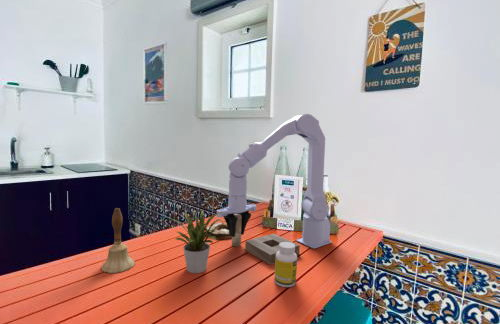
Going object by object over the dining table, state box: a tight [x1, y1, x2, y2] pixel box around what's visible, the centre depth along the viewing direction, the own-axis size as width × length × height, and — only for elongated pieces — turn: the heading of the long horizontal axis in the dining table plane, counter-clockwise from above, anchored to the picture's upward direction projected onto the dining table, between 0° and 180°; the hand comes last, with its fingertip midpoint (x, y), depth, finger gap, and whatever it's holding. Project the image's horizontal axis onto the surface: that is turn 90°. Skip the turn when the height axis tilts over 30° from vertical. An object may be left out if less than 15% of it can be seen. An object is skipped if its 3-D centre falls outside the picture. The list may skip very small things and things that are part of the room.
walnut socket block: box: [244, 233, 301, 266], centre depth 87 cm, size 12×12×3 cm
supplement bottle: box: [274, 242, 298, 288], centre depth 70 cm, size 5×5×10 cm
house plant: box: [170, 209, 222, 274], centre depth 75 cm, size 14×14×16 cm
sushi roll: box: [204, 222, 232, 241], centre depth 103 cm, size 15×15×4 cm
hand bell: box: [100, 207, 136, 274], centre depth 75 cm, size 8×8×16 cm
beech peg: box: [231, 214, 242, 248], centre depth 92 cm, size 3×3×10 cm
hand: (236, 234), depth 92 cm, fingers closed on beech peg, 3 cm apart
